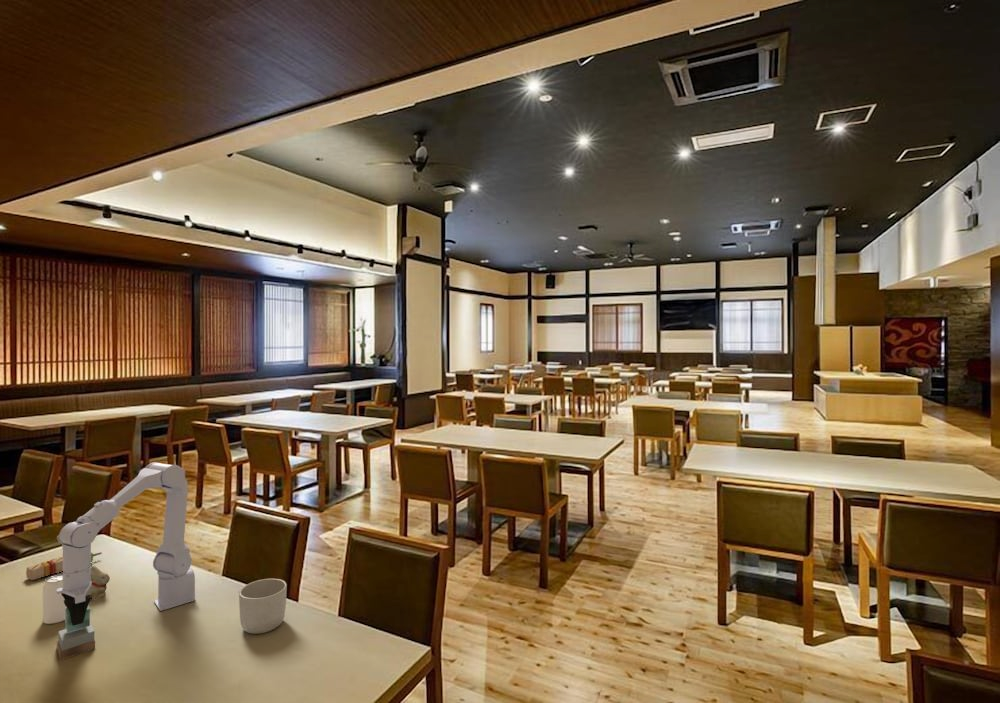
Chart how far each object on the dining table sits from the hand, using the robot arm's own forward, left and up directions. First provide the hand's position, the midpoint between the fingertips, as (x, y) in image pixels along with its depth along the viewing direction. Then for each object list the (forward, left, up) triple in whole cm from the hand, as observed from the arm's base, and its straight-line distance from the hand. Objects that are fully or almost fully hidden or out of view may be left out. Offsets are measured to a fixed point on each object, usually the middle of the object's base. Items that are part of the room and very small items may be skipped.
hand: (76, 620), depth 133 cm
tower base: (0, 0, -8) cm, 8 cm away
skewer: (-4, -62, -8) cm, 63 cm away
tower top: (0, 0, -5) cm, 5 cm away
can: (+2, -22, -8) cm, 23 cm away
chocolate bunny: (-7, -31, -8) cm, 33 cm away
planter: (-39, +23, -8) cm, 46 cm away
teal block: (0, 0, -2) cm, 2 cm away
